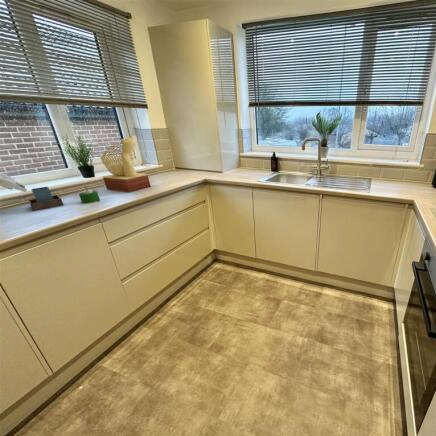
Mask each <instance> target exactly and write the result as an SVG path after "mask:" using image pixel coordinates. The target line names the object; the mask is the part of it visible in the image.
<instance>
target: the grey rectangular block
mask: <svg viewBox="0 0 436 436" xmlns="http://www.w3.org/2000/svg"><path fill="white" fill-rule="evenodd" d="M30 190H31V192H32V194H33V196H34V199H36V201H37V203H38V202H43V201H49V200H54V199H53V197H52V196H53V195H52V192H51V190H50V188H49V186H42V187H34V188H30Z"/></svg>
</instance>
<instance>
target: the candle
mask: <svg viewBox="0 0 436 436" xmlns="http://www.w3.org/2000/svg"><path fill="white" fill-rule="evenodd" d="M84 189H85V190H83V191H82V192H80V193H78V196H79V199H80V201H81V203H82V204H93V203H96V202H97V203H99V202H100V201H101V200H100V197H99V194H98V191H97V190H93V189H89V187H88V185H86V184H85V185H84Z"/></svg>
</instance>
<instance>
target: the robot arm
mask: <svg viewBox="0 0 436 436" xmlns="http://www.w3.org/2000/svg"><path fill="white" fill-rule="evenodd" d="M0 187H3V188H5V189H7V190H9V191H10V190H11V191H12V190H17V191H20V192H23V193H26V192H27V191H28V189H27V188H26V186H25V185H23V184H21V183H19V182H17V181H15V179H14V178H13V177H12V176H9V175H7V174H5V173H4V172H1V171H0Z"/></svg>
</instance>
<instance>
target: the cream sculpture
mask: <svg viewBox="0 0 436 436" xmlns="http://www.w3.org/2000/svg"><path fill="white" fill-rule="evenodd" d="M136 142H137V141H136V139H135V138H134V136H133V135H130V137H129V136H128V137H125V138H121V139H120V142H119V143H116V144H113V145H110V146H109V147H108V148H106V149H105V150H104V153H103V154H102V155H100V161H101V162H102V164H103V165H104V167H105V168H106V169H107V171H108V172H109V173H110V175H104V176H102V179H103V182H104V185H105V187H106V190H108V191H115V192H124V193H132V192H136V191H140V190H143V189H147V188H150V187H152V186H151V182H150V178H149V174H148V173H142V172H137V171H136V169H135V167H134V158H133V152H134V151H135V148H136Z"/></svg>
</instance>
